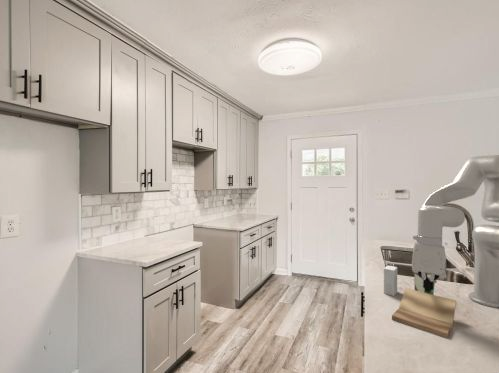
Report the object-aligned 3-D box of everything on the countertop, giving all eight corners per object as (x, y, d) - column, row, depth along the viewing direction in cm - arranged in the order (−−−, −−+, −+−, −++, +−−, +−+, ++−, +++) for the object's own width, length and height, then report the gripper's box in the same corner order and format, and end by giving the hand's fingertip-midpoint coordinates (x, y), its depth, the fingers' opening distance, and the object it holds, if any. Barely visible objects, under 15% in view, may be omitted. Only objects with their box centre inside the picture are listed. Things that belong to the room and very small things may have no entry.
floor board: (404, 303, 111) (404, 297, 111) (460, 319, 98) (460, 312, 98) (388, 322, 97) (388, 315, 97) (451, 343, 84) (451, 335, 84)
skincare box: (386, 291, 123) (387, 265, 123) (397, 294, 120) (397, 267, 120) (383, 295, 118) (383, 268, 118) (394, 298, 116) (394, 270, 115)
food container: (442, 304, 110) (442, 280, 110) (425, 303, 111) (425, 279, 111) (428, 292, 122) (429, 270, 122) (413, 291, 123) (413, 269, 123)
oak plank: (405, 290, 108) (405, 287, 107) (456, 303, 97) (456, 300, 96) (399, 310, 103) (399, 308, 102) (452, 326, 91) (452, 324, 91)
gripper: (403, 239, 103) (402, 287, 103) (453, 246, 92) (451, 300, 93) (409, 236, 108) (408, 282, 109) (456, 242, 98) (455, 293, 98)
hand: (428, 290), depth 101 cm, fingers closed
